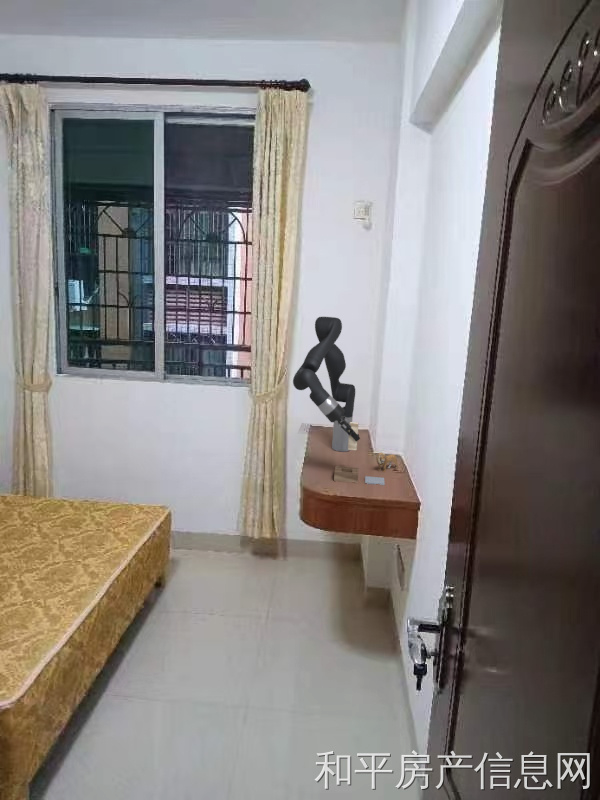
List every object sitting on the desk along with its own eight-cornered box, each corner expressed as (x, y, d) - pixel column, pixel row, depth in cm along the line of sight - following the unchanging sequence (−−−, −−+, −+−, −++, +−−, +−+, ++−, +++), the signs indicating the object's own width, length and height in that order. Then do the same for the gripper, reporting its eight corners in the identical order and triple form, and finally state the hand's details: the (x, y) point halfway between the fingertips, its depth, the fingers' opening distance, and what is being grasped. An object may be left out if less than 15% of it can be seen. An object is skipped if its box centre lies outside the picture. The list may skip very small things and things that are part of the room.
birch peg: (348, 447, 252) (350, 422, 249) (356, 447, 251) (358, 422, 249) (347, 449, 248) (349, 424, 246) (356, 450, 248) (358, 424, 246)
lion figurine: (382, 474, 260) (383, 454, 258) (372, 471, 264) (373, 452, 262) (400, 468, 271) (402, 449, 269) (391, 465, 274) (392, 446, 272)
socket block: (335, 473, 258) (335, 465, 257) (358, 475, 257) (358, 467, 256) (333, 480, 248) (334, 472, 247) (357, 482, 247) (358, 474, 246)
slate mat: (365, 477, 255) (365, 476, 255) (383, 479, 254) (384, 477, 254) (365, 483, 247) (365, 482, 247) (384, 485, 246) (384, 483, 246)
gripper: (338, 406, 239) (366, 437, 241) (336, 399, 253) (363, 428, 255) (324, 418, 240) (352, 448, 242) (323, 410, 254) (350, 439, 256)
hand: (357, 438), depth 249 cm, fingers closed on birch peg, 4 cm apart
